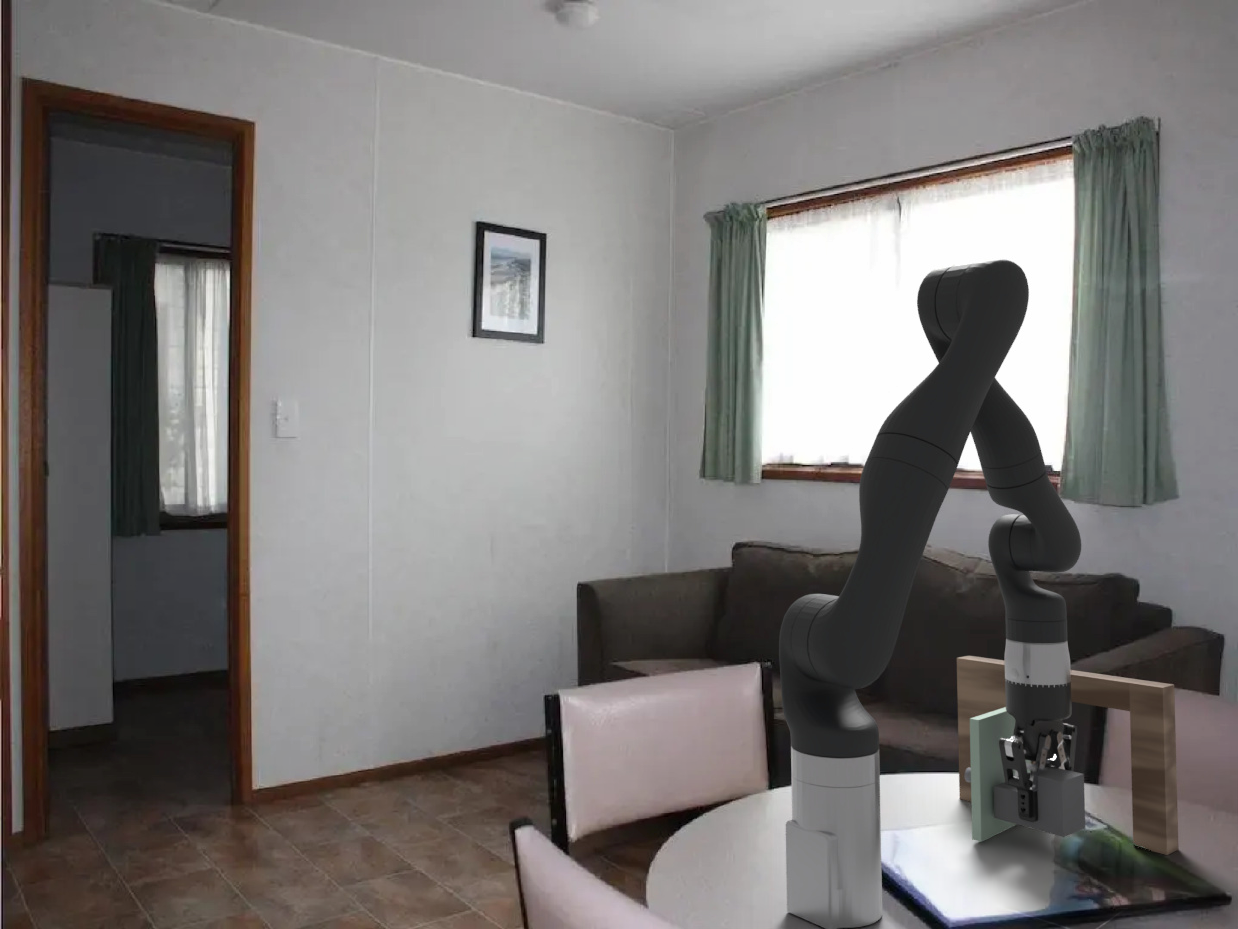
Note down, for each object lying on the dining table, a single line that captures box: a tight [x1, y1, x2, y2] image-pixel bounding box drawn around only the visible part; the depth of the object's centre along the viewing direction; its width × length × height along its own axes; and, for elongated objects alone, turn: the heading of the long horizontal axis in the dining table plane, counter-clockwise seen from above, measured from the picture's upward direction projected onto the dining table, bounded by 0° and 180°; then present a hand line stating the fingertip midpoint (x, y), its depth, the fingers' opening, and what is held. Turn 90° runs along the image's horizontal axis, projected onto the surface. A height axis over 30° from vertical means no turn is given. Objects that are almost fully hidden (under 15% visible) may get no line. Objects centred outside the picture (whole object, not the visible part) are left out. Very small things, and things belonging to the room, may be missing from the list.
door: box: [965, 707, 1031, 843], centre depth 130 cm, size 2×14×15 cm, turn 132°
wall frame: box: [956, 655, 1179, 856], centre depth 133 cm, size 3×28×20 cm, turn 37°
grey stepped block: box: [994, 766, 1086, 838], centre depth 124 cm, size 5×9×6 cm, turn 37°
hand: (1041, 814), depth 124 cm, fingers closed on grey stepped block, 5 cm apart
